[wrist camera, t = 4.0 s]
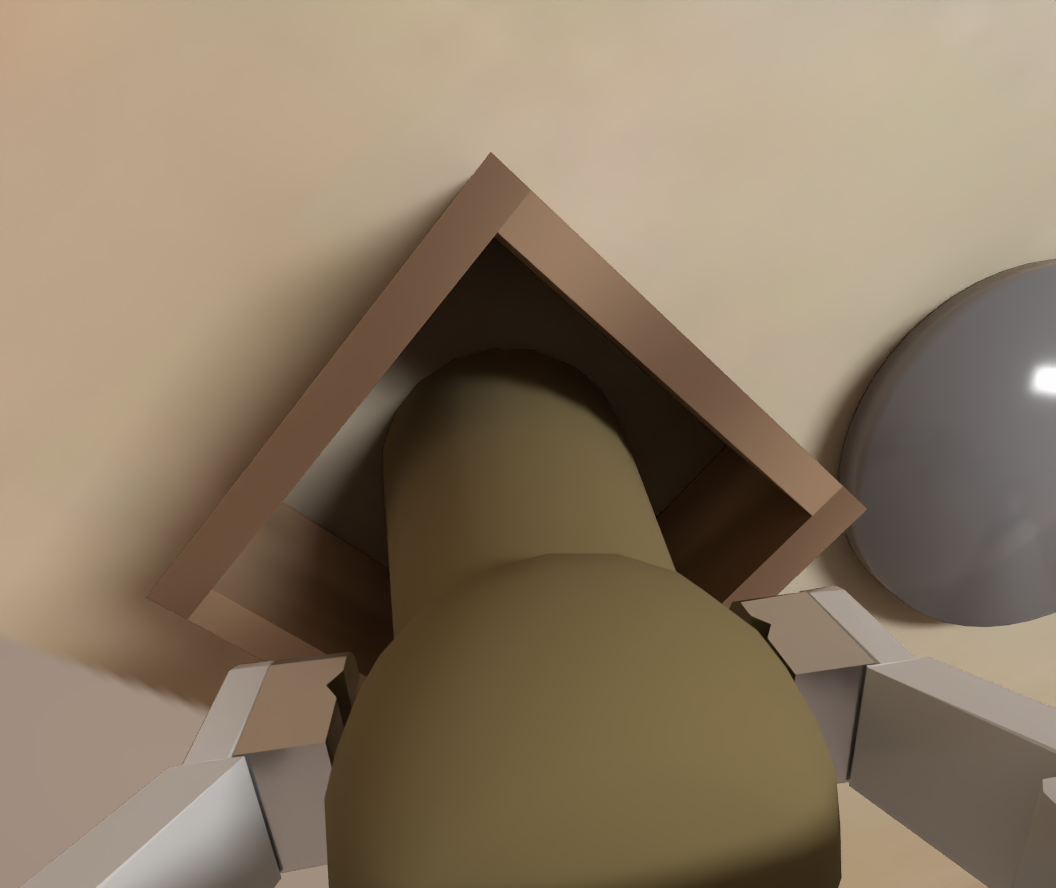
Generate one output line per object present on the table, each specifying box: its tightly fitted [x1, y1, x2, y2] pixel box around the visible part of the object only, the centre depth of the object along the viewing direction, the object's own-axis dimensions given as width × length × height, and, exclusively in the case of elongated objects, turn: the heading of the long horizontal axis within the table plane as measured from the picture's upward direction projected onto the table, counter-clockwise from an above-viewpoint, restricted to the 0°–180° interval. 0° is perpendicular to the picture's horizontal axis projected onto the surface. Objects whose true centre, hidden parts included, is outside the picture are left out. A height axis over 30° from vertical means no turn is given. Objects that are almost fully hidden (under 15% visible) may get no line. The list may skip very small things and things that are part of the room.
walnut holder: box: [146, 152, 867, 696], centre depth 13 cm, size 10×10×4 cm
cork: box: [324, 349, 841, 888], centre depth 10 cm, size 6×6×11 cm
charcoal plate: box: [838, 259, 1056, 627], centre depth 16 cm, size 10×10×1 cm
